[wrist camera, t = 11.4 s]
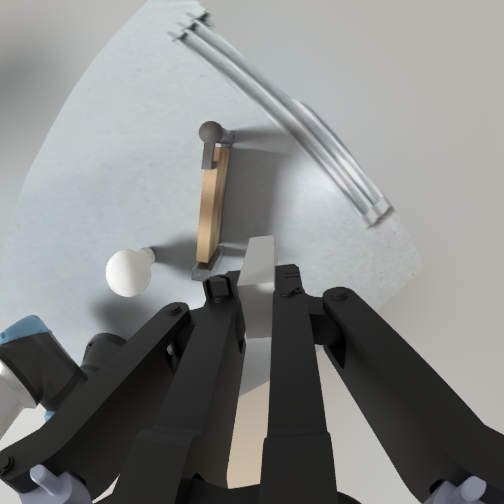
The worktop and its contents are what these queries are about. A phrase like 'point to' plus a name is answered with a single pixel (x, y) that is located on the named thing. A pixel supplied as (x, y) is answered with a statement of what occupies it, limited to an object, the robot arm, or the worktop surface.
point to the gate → (211, 190)
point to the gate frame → (208, 269)
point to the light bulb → (130, 271)
